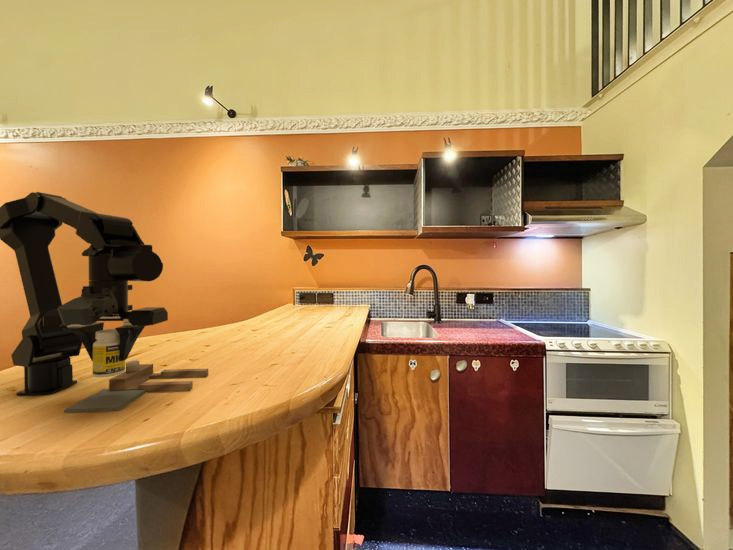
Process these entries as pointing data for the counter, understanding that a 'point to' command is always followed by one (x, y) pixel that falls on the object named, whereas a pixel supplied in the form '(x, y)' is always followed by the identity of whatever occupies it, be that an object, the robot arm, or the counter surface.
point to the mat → (105, 401)
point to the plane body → (141, 373)
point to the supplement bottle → (107, 354)
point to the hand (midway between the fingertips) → (109, 360)
